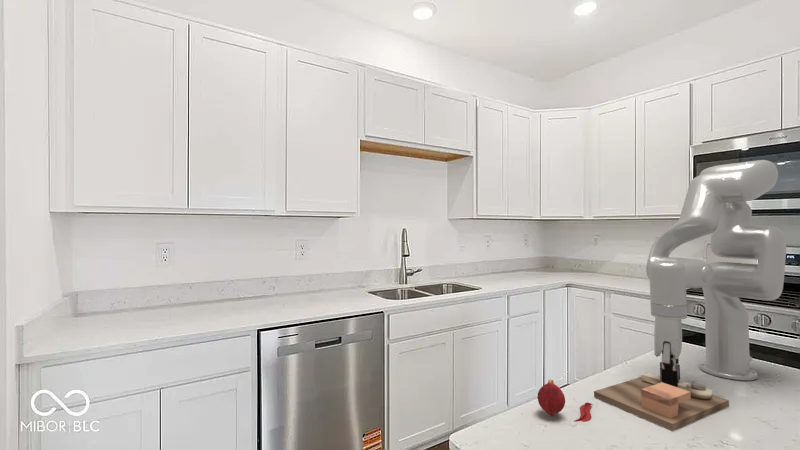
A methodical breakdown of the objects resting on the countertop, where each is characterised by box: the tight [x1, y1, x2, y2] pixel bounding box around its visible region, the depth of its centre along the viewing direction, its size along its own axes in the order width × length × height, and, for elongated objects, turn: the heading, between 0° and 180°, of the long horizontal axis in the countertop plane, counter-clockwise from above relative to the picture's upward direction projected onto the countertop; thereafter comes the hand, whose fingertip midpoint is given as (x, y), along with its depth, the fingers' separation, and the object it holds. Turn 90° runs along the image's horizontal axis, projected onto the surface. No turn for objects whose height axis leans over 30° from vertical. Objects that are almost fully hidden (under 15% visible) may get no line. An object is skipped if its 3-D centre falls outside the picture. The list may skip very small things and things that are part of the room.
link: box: [640, 361, 713, 399], centre depth 96 cm, size 14×5×6 cm, turn 35°
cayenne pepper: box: [574, 402, 594, 423], centre depth 87 cm, size 12×5×2 cm, turn 126°
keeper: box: [641, 382, 691, 418], centre depth 86 cm, size 8×6×4 cm
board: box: [593, 376, 730, 432], centre depth 92 cm, size 23×18×5 cm
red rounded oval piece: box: [537, 378, 566, 417], centre depth 86 cm, size 6×6×8 cm
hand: (671, 381), depth 96 cm, fingers open, 4 cm apart
